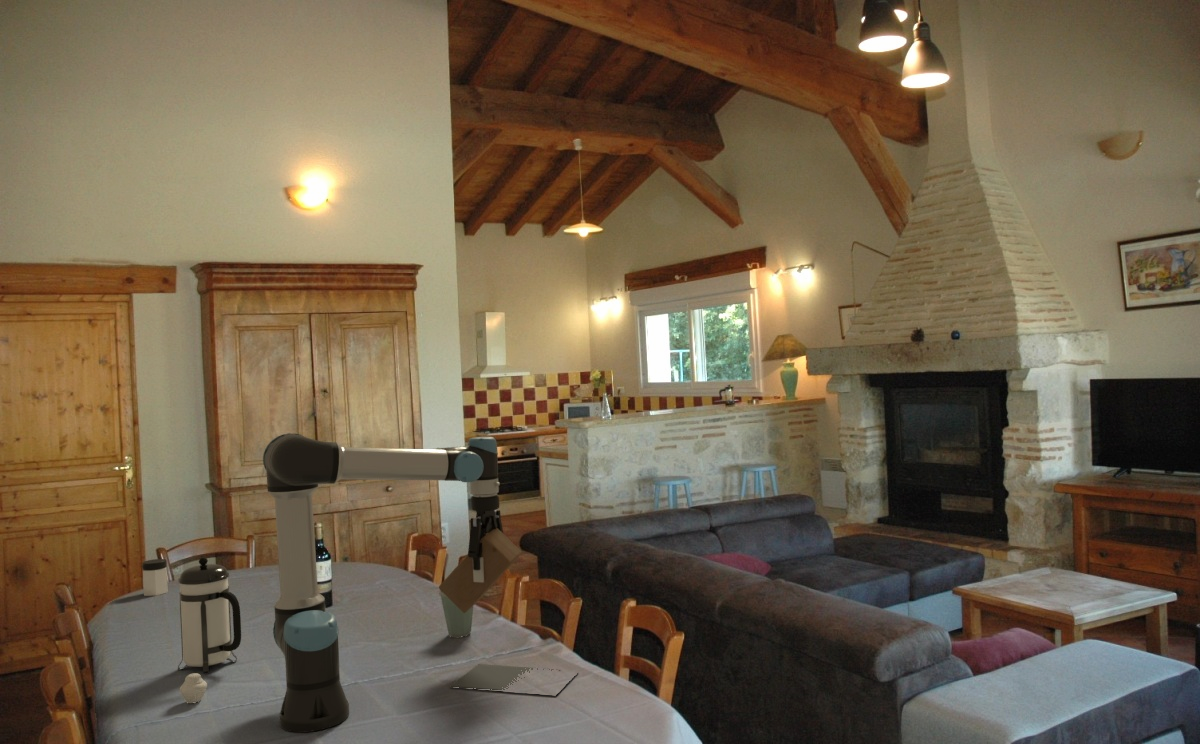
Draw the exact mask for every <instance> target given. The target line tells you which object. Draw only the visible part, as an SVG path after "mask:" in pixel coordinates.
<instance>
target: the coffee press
mask: <svg viewBox="0 0 1200 744" xmlns="http://www.w3.org/2000/svg"><path fill="white" fill-rule="evenodd" d="M208 562H209V560H208V558H207V557H204V556H202V557H200V558H199V560H198V564H199V565H196V566H192V567H188V568H186V569H184V570H183V571H182V572H181V574H180V576H179V577H178V580H177V581H178V584H179V588H180V589H179V612H180V614H179V615H180V616H179V617H180V632H181V633H180V636H181V637H180V638H181V639H180V640H181V656H182V657H181V661H180V662H179V664H178V666H177V669H178V670H179V669H180V668H181V667H180V665H181V664H182V663H185V665H184V666H182V668H183V670H184V669H186V667H188V666H189V667H192V668H193V667H195V668H197V667H198V668H201V667H202V674H203V673H206V674H209V673H208V671H209V670H210V666H214V665H218V664H220V663H222V662H225V661H229V662H231V663H232V662H233V661H235V663H236V662H237V660H238V657H237V656H236V655H235V653H234V652H233V651H234V650H237V649H238V648H239V647H240V645H241V641H242V619H241V608H240V602H239V600H238V598H237V597H236V595H235V594H234V593H232V592H231V591H230V585H229V577H230V572H229V571H228V569H227V568H226V567H225V566H223V565H222V564H215V563H211V564H208ZM231 609H232V618H231ZM231 619H232V620H231ZM232 626H233V627H232ZM232 629H233V640H232V637H231V636H232ZM231 655H232V656H233V657H234V658H235V660H232V659H231V658H230V656H231ZM209 672H210V671H209Z"/></svg>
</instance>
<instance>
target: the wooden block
mask: <svg viewBox="0 0 1200 744" xmlns="http://www.w3.org/2000/svg"><path fill="white" fill-rule="evenodd" d="M503 533H504V532H503ZM503 533H502V532H501V531H500V530H499V529H498V528H496V529H493V530H492V531H491V532H489V533H487V534H486V535H485V536H484V537H483V538H482V539H481V540H480V543H482V550H483V551H482V555H481V557H483V564H484V582H474V580H473V558H470V557H469V556H468V554H466V556H465V557H464V558H463V559H462V560H461V561H460V563H458V565H457V566H455V568H454V569H453V570H452V571H451V573H449V574H448V575H447V577H446V578H445V579H443V581H442V582H441V583H440V585H438V589H439V590H441V591H442V592H443V593H444V594H445V595H446V596H447V597H448V598H449V599H450V600H451V601H452V602H453V603H454V604H455V605H456V606H457V607H458V608H459V609H460V610H461V611H462V612H463V613H466V612H467V611H468V610H469V609H470V608H471V607H472V606H473V607H474V606H475V605H476V604H477V603H478V602H479V601H480V600H481V598H482V597H483V596H484V595H486V593H488V591H490V589H491V588H492V587H493V586H494V584H495V583H496V582H497V581H498V580H499V579H500V578H501V577H502V576H503V574H505V572H506V571H508V569H509V568H510V567H511V566H512V564H514V562H516V560H518V558H519V557H520V556H521V555H522V550H520V548H519V547H518V546H517V545H515V544H514V542H512V541H511V540H510V539H509V537H507V535H505V533H504V534H503Z"/></svg>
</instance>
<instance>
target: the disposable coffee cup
mask: <svg viewBox="0 0 1200 744" xmlns="http://www.w3.org/2000/svg"><path fill="white" fill-rule="evenodd" d="M438 594H439V596H440V600H441V604H442V610H443V613H444V618H445V623H446V628H447V632H448V635H449V637H450V636H452V637H451V638H453V637H460V638H462V637H461V636H465V637H467V636H466V635H468V634H469V635H471V632H472V625H473V612H474V605H473V606H472V607H471V608H470V609H469V610H468V611H467V612H466V613H463V612H462V611H461V610H460V609H459V608H458V607H457V606H456V605H455V604H454V603H453V602H452V601H451V600H450V599H449V598H448V597H447V596H446V595H445V594H444V593H443V592H442V591H441V590H440V589H439V590H438ZM469 635H468V636H469Z"/></svg>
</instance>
